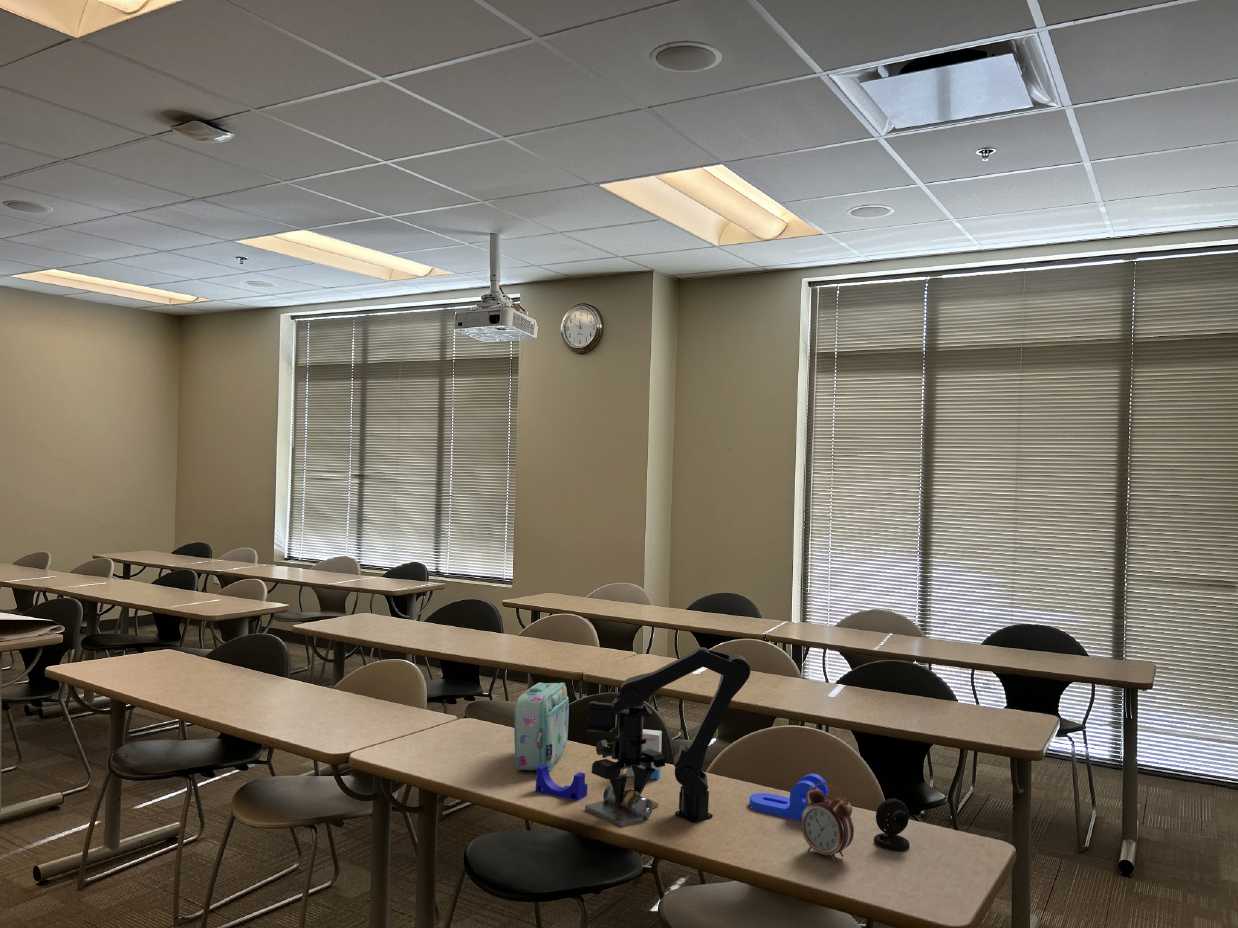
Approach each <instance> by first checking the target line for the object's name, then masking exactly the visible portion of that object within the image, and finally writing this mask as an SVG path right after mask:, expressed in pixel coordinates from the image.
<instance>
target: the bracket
mask: <svg viewBox="0 0 1238 928" xmlns="http://www.w3.org/2000/svg"><path fill="white" fill-rule="evenodd" d="M817 783H827V781H826V780H825V778H823V777H822V776H821V775H819V774H817V773H808V774H806V775H805V776H803V777H802V778H801V779H800V780H799V781H798V782H796V784H794V785H793V786H792V787H791V790H790V791H789V792H790V793H789V797H787V796H783V795H778V794H772V793H767V792H757V793H753V794H751V795H750V796H749V801H748V802H749V807H750V808H751V807H752V808H751V809H752V810H754V809H755V810H754V811H757V812H760V813H763V812H765V814H769V815H772V814H773V815H772V816H777V817H783V818H787V819H791V820H796V821H800V822H801V816H802V813H803V811H804V810H805V808H806V807H807V806H809V805H810V804H812V803H810V804H806V799H805V796H806V794H807V793H808V791H809V790H811V789H810V786H812V787H813V788H814V787H815V785H816V784H817ZM816 789H819V790H822V791H823V793H824V794H825V796H828V797H829V791H830V790H829V786H827V785H818V786H817V788H816ZM824 799H825V798H824ZM822 800H823V799H822ZM813 803H814V802H813Z"/></svg>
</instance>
